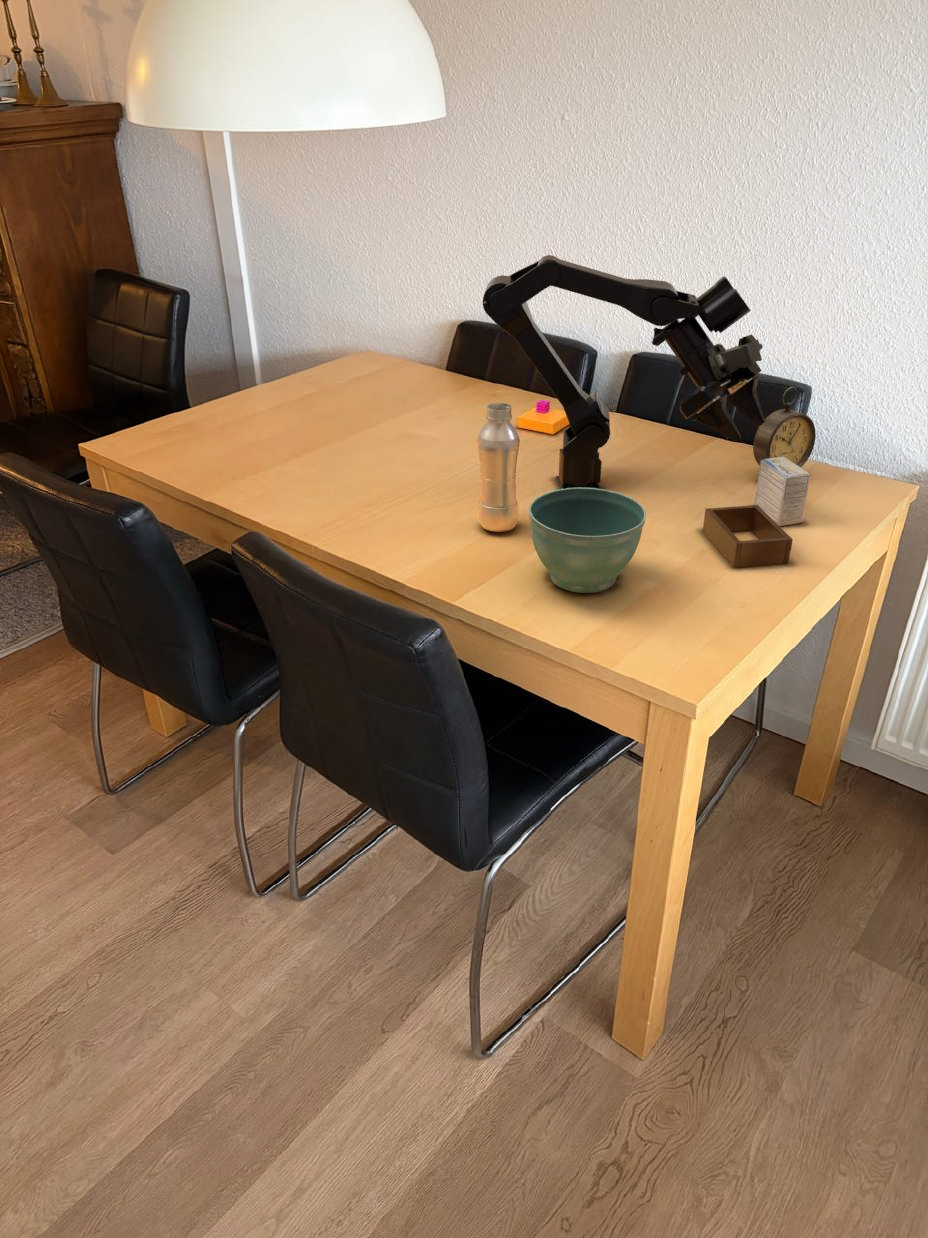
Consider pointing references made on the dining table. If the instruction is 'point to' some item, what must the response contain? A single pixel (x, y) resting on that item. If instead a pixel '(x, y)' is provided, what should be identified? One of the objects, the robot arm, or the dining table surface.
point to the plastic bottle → (498, 470)
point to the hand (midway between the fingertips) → (750, 431)
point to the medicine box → (782, 490)
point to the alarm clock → (785, 436)
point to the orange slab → (543, 418)
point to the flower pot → (585, 536)
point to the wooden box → (750, 552)
